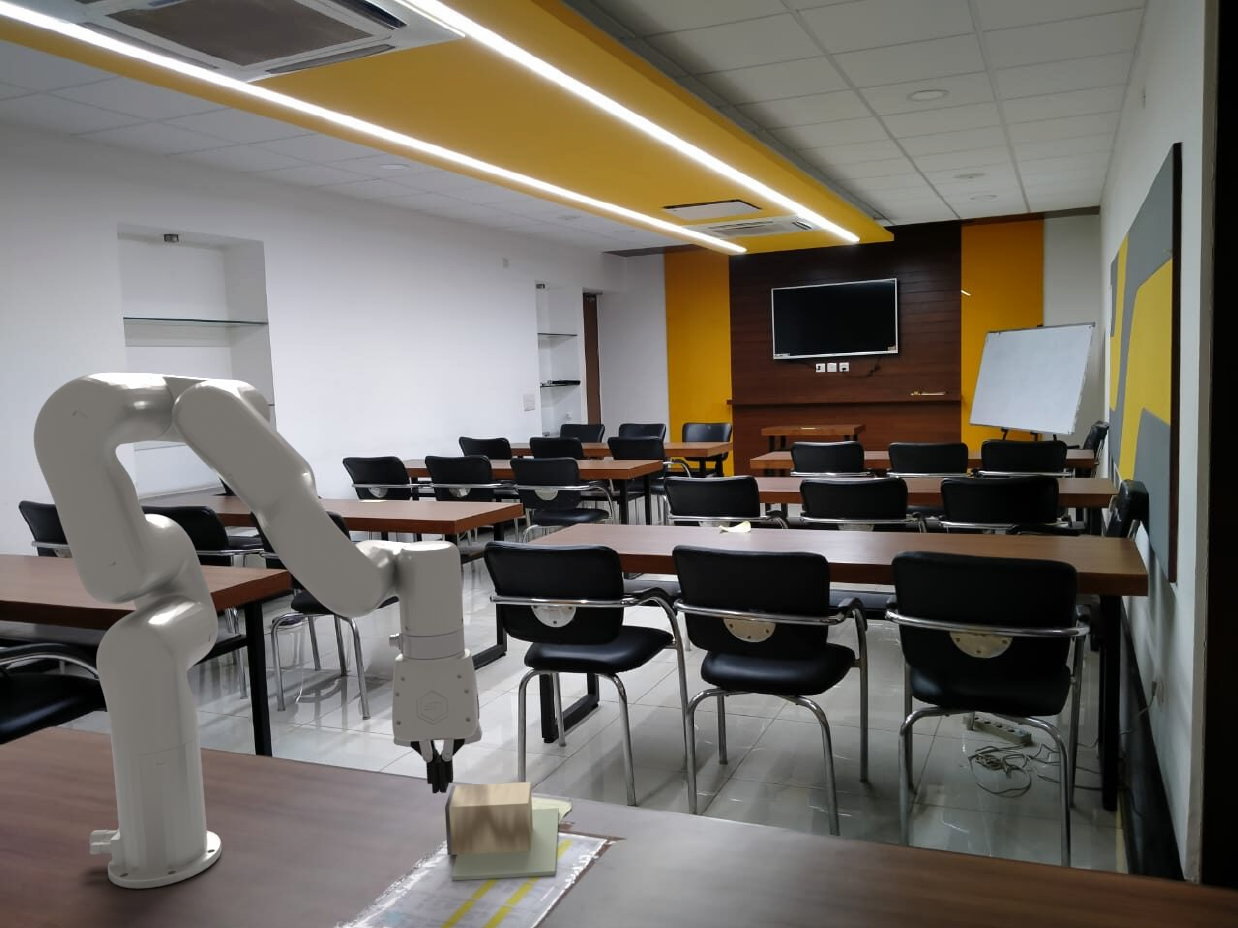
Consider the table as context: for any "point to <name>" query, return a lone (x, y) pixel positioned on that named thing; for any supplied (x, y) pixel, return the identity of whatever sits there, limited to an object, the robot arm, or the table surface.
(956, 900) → the table surface
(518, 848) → the maple block
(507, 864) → the rubber mat
